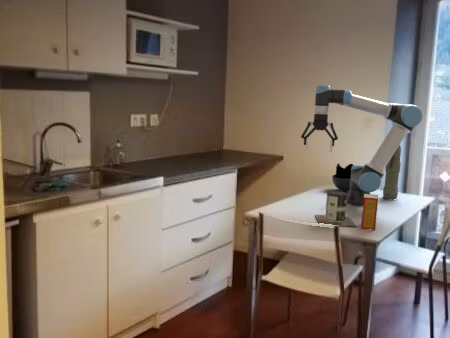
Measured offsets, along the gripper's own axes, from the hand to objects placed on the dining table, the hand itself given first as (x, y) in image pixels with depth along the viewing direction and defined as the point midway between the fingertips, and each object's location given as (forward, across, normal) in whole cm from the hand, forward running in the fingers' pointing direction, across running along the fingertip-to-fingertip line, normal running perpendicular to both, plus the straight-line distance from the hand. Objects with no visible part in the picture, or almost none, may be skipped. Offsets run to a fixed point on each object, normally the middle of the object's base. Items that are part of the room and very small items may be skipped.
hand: (318, 151), depth 270 cm
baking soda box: (+32, -22, +38) cm, 54 cm away
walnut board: (+32, -7, +31) cm, 45 cm away
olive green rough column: (+32, -52, -36) cm, 71 cm away
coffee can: (+31, -7, +31) cm, 44 cm away
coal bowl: (+32, -27, -50) cm, 65 cm away
